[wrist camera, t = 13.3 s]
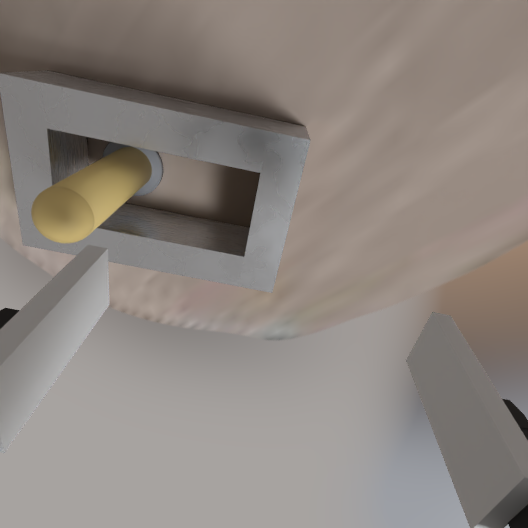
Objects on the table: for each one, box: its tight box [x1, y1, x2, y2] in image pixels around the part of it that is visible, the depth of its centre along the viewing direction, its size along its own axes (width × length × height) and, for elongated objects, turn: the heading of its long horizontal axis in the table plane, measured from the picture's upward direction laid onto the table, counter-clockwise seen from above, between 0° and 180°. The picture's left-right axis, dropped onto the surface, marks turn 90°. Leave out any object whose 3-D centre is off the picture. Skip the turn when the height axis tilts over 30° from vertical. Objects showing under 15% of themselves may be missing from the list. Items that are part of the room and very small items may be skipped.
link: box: [0, 70, 310, 293], centre depth 26 cm, size 18×11×5 cm, turn 79°
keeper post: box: [31, 142, 163, 243], centre depth 23 cm, size 4×4×12 cm
